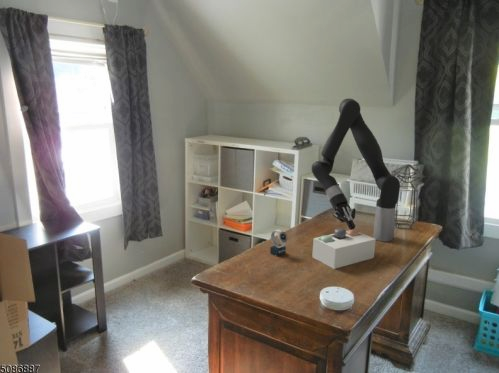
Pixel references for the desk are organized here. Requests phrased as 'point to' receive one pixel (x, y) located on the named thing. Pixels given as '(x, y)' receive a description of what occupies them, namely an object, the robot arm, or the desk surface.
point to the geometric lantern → (408, 190)
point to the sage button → (326, 238)
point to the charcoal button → (340, 233)
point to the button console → (344, 250)
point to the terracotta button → (352, 233)
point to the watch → (278, 248)
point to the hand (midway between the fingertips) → (353, 228)
